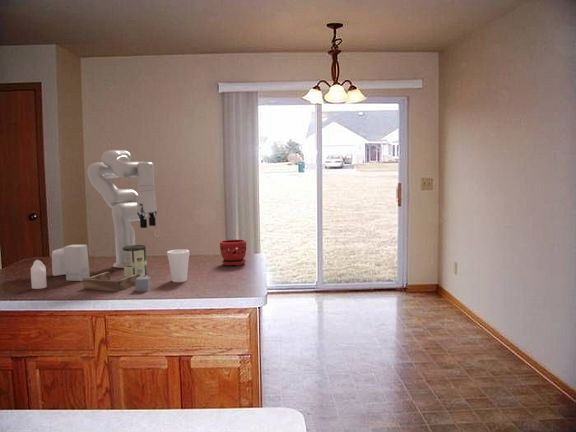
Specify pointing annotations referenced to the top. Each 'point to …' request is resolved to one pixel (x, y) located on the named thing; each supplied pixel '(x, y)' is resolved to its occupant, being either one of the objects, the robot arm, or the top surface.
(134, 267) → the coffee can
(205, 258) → the top surface
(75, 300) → the top surface
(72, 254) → the skincare box
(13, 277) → the top surface
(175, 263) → the foam cup
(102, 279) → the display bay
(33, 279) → the white tall rounded piece
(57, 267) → the photo printer
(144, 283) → the grey block
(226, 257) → the plant pot
